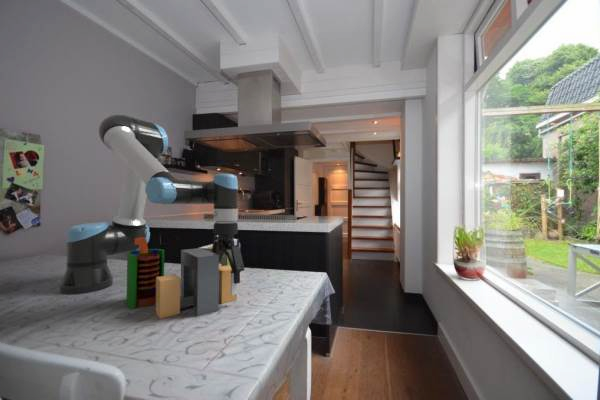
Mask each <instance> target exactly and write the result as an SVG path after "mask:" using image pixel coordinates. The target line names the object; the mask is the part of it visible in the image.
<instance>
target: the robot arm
mask: <svg viewBox="0 0 600 400" xmlns="http://www.w3.org/2000/svg"><path fill="white" fill-rule="evenodd" d="M98 136H99V138H100V140H101V142H102V143H103V144H104V146H105V147H106V148H107V149H109V150H110V151H113V152H115V153H116V154H117V155H118V156H119V157H120V158H121V159H122V160H123V161H124V162H125V163H126V170H125V176H124V181H123V187H122V192H121V197H120V203H119V209H118V215H116V216H114V217H113V218H112V221H111V225H110V224H108V222H107V221H100V222H99V221H97V222H88V223H81V224H76V225H74V226H71V227H69V228H68V230H67V236H66V270H65V272H64V274H63V276H62V279H61V282H60V284H59V293H61V294H67V295H76V294H84V293H90V292H96V291H100V290H103V289H104V290H105V289H106V288H109V287H111V286H113V283H114V282H113V281H114V280H113V279H114V278H113V275H112V272H111V270H110V268H109V265H108V256H113V255H118V254H125V253H126V254H127V253H128V252H131V251H136V250H140V247H139V245H138V244H137V245H135V238H140V237H145V238H146V241H147V244H148V243H149V242H150V237H151V232H150V227H149V226H148V224H147V221H146V220H145V219H144V213H145V207H146V202H147V199H148V201H149V202H150V203H153V204H159V205H183V204H184V205H209V204H213V212H212V215H213V221H214V223H213V234H214V236H213V242H212V244H213V247H212V251H211V252H213V253H216V254H218V255H219V263H222V261H221V259H222V256H223V254H224V253H225V254H227V257H228V260H229V263H230V266H231V269H232V270H231V272H230V273H231V295H234V294H237V295H238V294H240V293H241V277H240V272H241V273H242V272H244V271H245V265H244V261H243V256H242V252H241V246H240V247H239V243H240V240H239V239H240V238H235V237H234V236H235V235H237V234H238V233H239V232H238V230H239V226H238V225H239V224H238V222H237V221H239V208H238V197H239V194H238V193H239V184H238V177H237V176H236V175H235V174H232V173H216V174H214V176H213V180H212V181H211V180H210V181H198V180H187V179H180V178H179V179H178V178H176V177H175V176H174V175H173V174H172V173H171V172H170V171H169V170H168V169H167V168H166V167H165V166H164V165H163V164H162V163H161V162H160V161H159V156H160V155H163V154H164V153H165V151H167V150H168V146H169V138H168V137H169V136H168V134H167V133H166V130H165V129H164V128H163V126H160V125H159V124H156V123H153V122H148V121H146V120H142V119H139V118H135V117H131V116H129V115H125V114H112V115H110V116H107V117H106V118H104V119H103V120H102V121H101V123H100V124H99V126H98ZM240 266H241V267H240ZM219 267H221V264H219Z"/></svg>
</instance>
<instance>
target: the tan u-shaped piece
mask: <svg viewBox="0 0 600 400" xmlns="http://www.w3.org/2000/svg"><path fill="white" fill-rule="evenodd" d="M231 270H232V269H231V266H229V265H227V266H221V267H219V303H220V304H221V305H223V304H227V303H230V302H234V301H237V300H238V298H237V297H238V294H234V295H231V273H230V272H231ZM190 306H191V307H192V306H194V296H190V297H185V298H181V276H179V275H177V274H176V273H173V274H168V275H164V276H160V277H156V304H155V313H156V315H157V316H158V318H159V319H165V318H168V317H169V318H170V317H172V316H177V315H180V314H181V309H182V308H186V307H190Z"/></svg>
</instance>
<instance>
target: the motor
mask: <svg viewBox="0 0 600 400" xmlns="http://www.w3.org/2000/svg"><path fill="white" fill-rule="evenodd" d="M137 244H138V245H139V247H140V250H136V251H131V252H127V253H126V255H127V260H126V263H127V264H126V294H125V295H126V299H125V300H126V301H125V302H126V303H125V306H126V307H127V308H129V309H136V308H142V307H149V306H153V305H156V277H160V276H165V250H164V249H160V248H149V247H148V243H147V241H146V238H145V237H140V238H135V245H137Z"/></svg>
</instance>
